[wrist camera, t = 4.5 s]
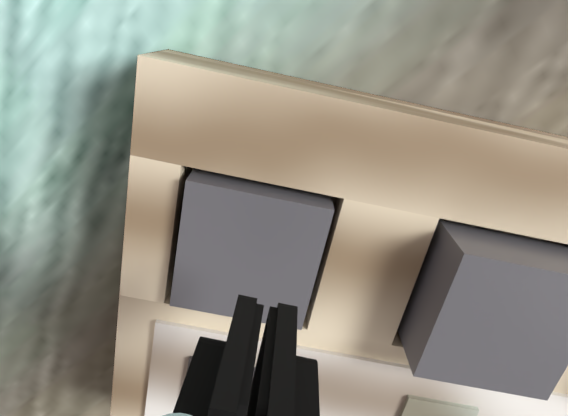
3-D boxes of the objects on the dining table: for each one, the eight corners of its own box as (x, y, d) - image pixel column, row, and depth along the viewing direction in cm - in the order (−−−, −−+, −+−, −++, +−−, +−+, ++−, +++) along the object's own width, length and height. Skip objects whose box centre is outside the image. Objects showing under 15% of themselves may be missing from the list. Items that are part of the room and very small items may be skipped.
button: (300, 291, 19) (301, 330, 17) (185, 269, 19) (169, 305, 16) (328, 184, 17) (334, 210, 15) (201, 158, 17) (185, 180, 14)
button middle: (513, 351, 18) (547, 400, 16) (397, 329, 18) (413, 376, 15) (568, 245, 16) (615, 283, 14) (438, 219, 16) (464, 254, 14)
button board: (624, 457, 24) (682, 533, 21) (135, 372, 23) (105, 437, 19) (816, 191, 18) (946, 233, 15) (168, 49, 17) (133, 55, 13)
